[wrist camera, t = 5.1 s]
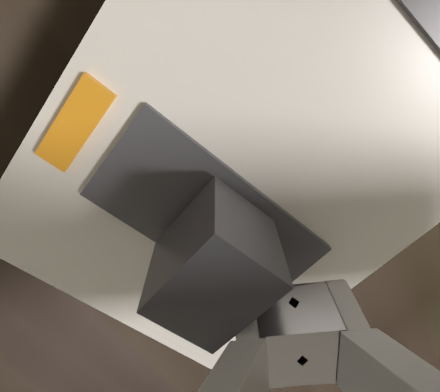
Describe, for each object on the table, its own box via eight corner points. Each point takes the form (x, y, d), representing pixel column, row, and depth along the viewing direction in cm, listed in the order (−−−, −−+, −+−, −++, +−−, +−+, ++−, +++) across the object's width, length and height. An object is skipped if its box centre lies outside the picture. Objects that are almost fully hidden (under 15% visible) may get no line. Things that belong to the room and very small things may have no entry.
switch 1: (213, 277, 10) (212, 354, 7) (156, 240, 9) (136, 312, 7) (273, 220, 9) (293, 287, 6) (215, 175, 8) (214, 233, 6)
